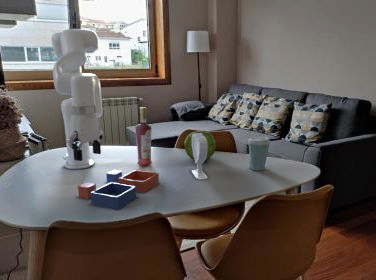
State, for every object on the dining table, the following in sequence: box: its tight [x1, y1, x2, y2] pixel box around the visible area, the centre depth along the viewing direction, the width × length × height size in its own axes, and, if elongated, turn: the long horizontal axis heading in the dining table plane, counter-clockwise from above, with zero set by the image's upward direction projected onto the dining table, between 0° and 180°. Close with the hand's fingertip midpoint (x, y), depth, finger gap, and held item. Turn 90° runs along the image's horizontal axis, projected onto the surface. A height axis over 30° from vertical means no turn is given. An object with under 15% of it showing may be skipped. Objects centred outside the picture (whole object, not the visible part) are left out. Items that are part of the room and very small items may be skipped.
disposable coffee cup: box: [247, 136, 271, 171], centre depth 169 cm, size 11×11×15 cm
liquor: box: [134, 106, 153, 168], centre depth 167 cm, size 7×7×28 cm
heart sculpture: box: [191, 133, 208, 180], centre depth 158 cm, size 16×5×18 cm, turn 18°
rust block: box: [77, 181, 97, 200], centre depth 133 cm, size 4×4×4 cm
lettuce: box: [184, 130, 217, 160], centre depth 183 cm, size 16×21×15 cm
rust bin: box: [118, 169, 160, 194], centre depth 143 cm, size 11×11×4 cm
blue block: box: [105, 169, 123, 184], centre depth 147 cm, size 4×4×4 cm
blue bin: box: [90, 182, 137, 211], centre depth 129 cm, size 11×11×4 cm
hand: (88, 156), depth 130 cm, fingers open, 9 cm apart
